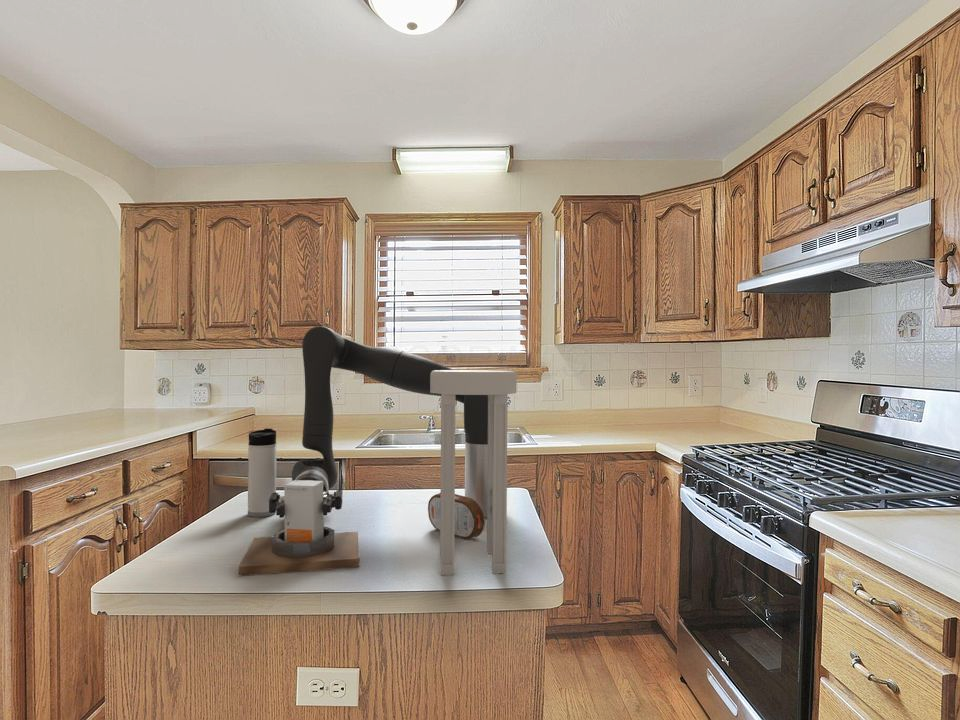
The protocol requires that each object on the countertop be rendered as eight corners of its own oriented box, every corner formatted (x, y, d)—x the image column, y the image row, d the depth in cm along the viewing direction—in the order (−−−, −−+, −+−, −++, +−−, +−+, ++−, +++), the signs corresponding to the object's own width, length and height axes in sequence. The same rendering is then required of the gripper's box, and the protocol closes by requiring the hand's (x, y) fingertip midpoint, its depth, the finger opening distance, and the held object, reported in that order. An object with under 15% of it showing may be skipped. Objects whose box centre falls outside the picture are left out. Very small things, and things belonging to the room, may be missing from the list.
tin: (485, 541, 114) (485, 499, 114) (474, 544, 112) (475, 502, 112) (435, 526, 124) (436, 488, 124) (425, 529, 122) (425, 490, 122)
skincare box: (283, 549, 103) (282, 484, 103) (295, 541, 107) (294, 479, 107) (314, 550, 102) (313, 485, 102) (324, 542, 106) (324, 480, 106)
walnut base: (357, 538, 114) (357, 531, 114) (359, 566, 99) (359, 558, 99) (254, 545, 110) (254, 537, 110) (238, 575, 94) (238, 566, 94)
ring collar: (335, 536, 111) (335, 524, 111) (333, 555, 100) (333, 541, 100) (276, 540, 108) (276, 527, 108) (268, 559, 98) (268, 545, 98)
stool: (428, 580, 93) (430, 371, 93) (429, 549, 108) (430, 369, 109) (519, 577, 94) (521, 371, 94) (507, 547, 110) (509, 370, 110)
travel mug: (281, 510, 136) (281, 428, 136) (268, 518, 129) (268, 431, 129) (256, 509, 136) (257, 428, 136) (242, 517, 130) (243, 431, 130)
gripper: (274, 474, 117) (262, 492, 100) (344, 471, 120) (343, 488, 104) (274, 509, 117) (261, 534, 100) (344, 506, 120) (343, 529, 104)
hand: (303, 511), depth 102 cm, fingers open, 7 cm apart
